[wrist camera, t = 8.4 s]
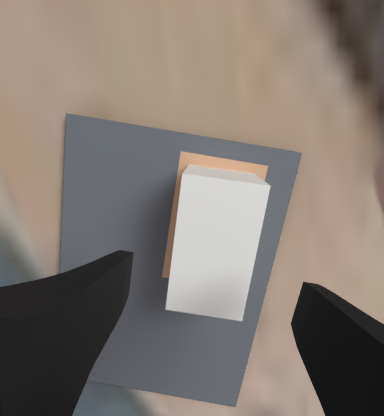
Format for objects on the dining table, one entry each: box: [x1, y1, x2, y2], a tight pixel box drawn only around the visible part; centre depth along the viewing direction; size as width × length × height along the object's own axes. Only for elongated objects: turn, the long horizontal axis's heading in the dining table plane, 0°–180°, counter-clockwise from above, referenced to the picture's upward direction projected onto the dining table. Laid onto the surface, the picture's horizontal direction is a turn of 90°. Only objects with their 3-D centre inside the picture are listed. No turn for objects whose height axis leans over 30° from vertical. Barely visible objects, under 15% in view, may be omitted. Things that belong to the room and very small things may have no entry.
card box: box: [165, 164, 271, 321], centre depth 17 cm, size 4×8×5 cm, turn 172°
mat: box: [60, 113, 302, 407], centre depth 21 cm, size 22×16×1 cm
